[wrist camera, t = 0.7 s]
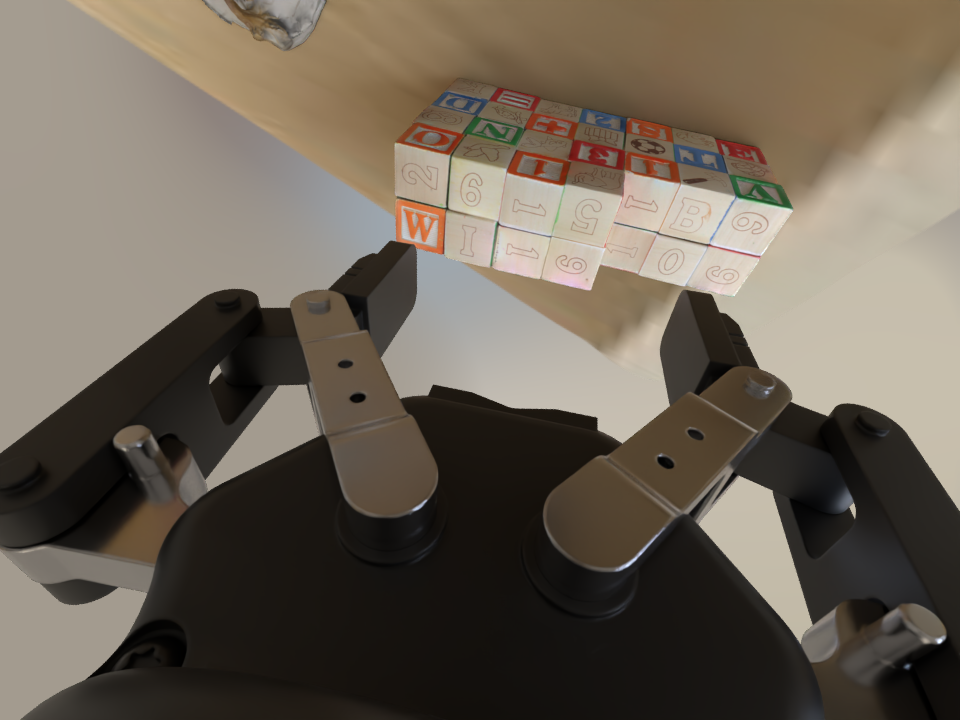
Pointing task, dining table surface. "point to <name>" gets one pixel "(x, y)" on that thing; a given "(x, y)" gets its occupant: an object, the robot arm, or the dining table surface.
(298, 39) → the frog figurine
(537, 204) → the stack of blocks
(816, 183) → the dining table surface
